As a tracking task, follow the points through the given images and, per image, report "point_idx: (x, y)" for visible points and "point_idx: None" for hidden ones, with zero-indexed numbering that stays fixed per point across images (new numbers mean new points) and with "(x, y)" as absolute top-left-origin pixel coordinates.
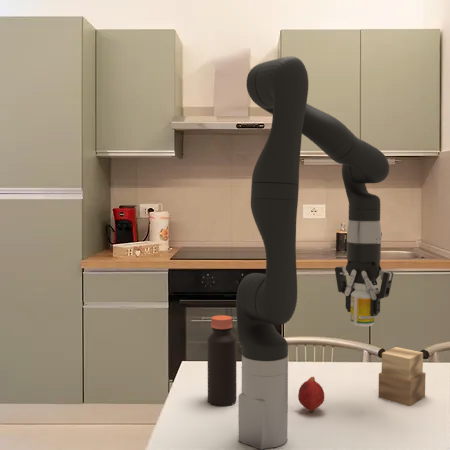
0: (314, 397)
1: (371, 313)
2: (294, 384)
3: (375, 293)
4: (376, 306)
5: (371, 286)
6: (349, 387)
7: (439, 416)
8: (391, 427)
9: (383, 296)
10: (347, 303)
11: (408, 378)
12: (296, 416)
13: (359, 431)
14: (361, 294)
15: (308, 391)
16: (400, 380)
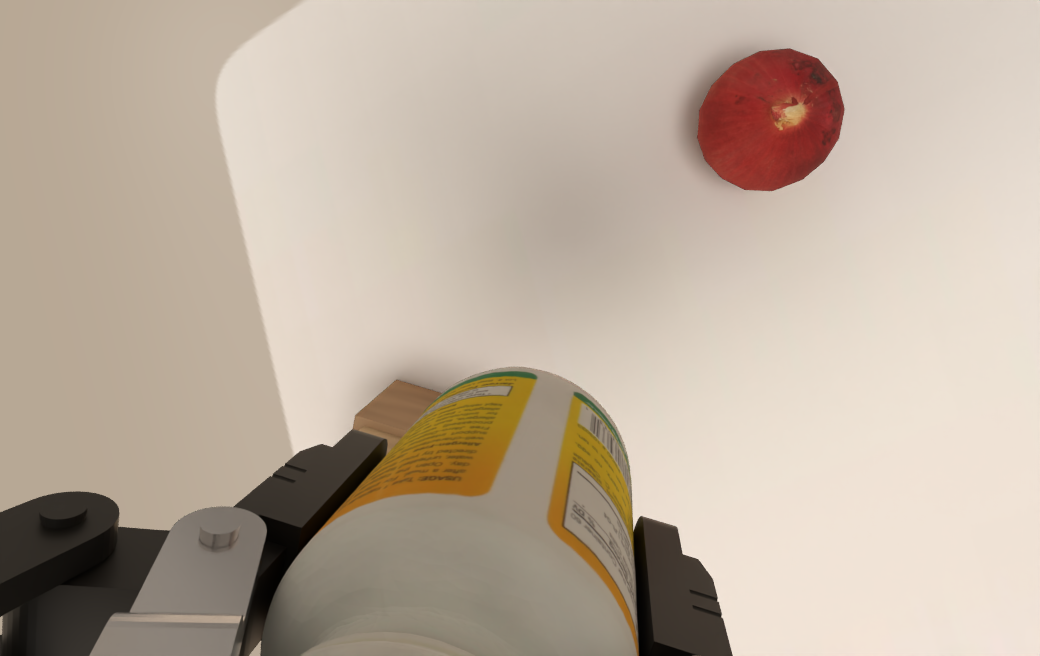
0: (736, 62)
1: (368, 440)
2: (921, 420)
3: (152, 574)
4: (272, 483)
5: (98, 645)
6: (664, 482)
7: (283, 326)
8: (403, 134)
9: (37, 503)
10: (685, 582)
11: (363, 428)
12: (796, 38)
13: (500, 26)
14: (401, 550)
15: (778, 56)
16: (404, 426)
